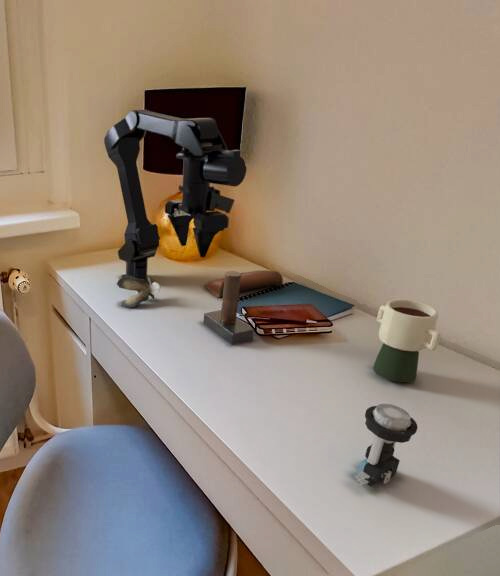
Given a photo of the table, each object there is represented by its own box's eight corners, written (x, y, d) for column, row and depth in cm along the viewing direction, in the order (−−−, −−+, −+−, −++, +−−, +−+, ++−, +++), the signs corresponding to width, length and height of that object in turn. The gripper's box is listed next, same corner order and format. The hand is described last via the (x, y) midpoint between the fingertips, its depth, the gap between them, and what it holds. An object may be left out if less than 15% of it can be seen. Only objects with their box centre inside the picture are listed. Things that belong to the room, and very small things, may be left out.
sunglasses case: (260, 274, 122) (271, 258, 117) (274, 295, 118) (286, 279, 113) (201, 284, 117) (211, 268, 112) (214, 307, 113) (224, 290, 108)
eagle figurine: (142, 286, 116) (111, 287, 112) (155, 268, 111) (123, 268, 107) (153, 311, 112) (122, 313, 108) (167, 294, 107) (135, 295, 103)
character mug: (439, 390, 75) (462, 319, 70) (404, 397, 74) (425, 326, 69) (383, 356, 85) (400, 292, 80) (351, 362, 83) (366, 297, 78)
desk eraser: (203, 323, 99) (207, 267, 94) (222, 319, 101) (228, 263, 95) (231, 345, 90) (238, 284, 85) (252, 340, 92) (260, 280, 87)
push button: (375, 502, 55) (395, 437, 52) (335, 473, 60) (350, 410, 56) (408, 482, 58) (429, 418, 54) (367, 455, 63) (384, 394, 59)
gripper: (255, 184, 91) (248, 259, 97) (208, 172, 108) (204, 237, 114) (204, 189, 88) (200, 265, 94) (164, 176, 105) (163, 241, 111)
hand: (192, 251), depth 103 cm, fingers open, 9 cm apart
